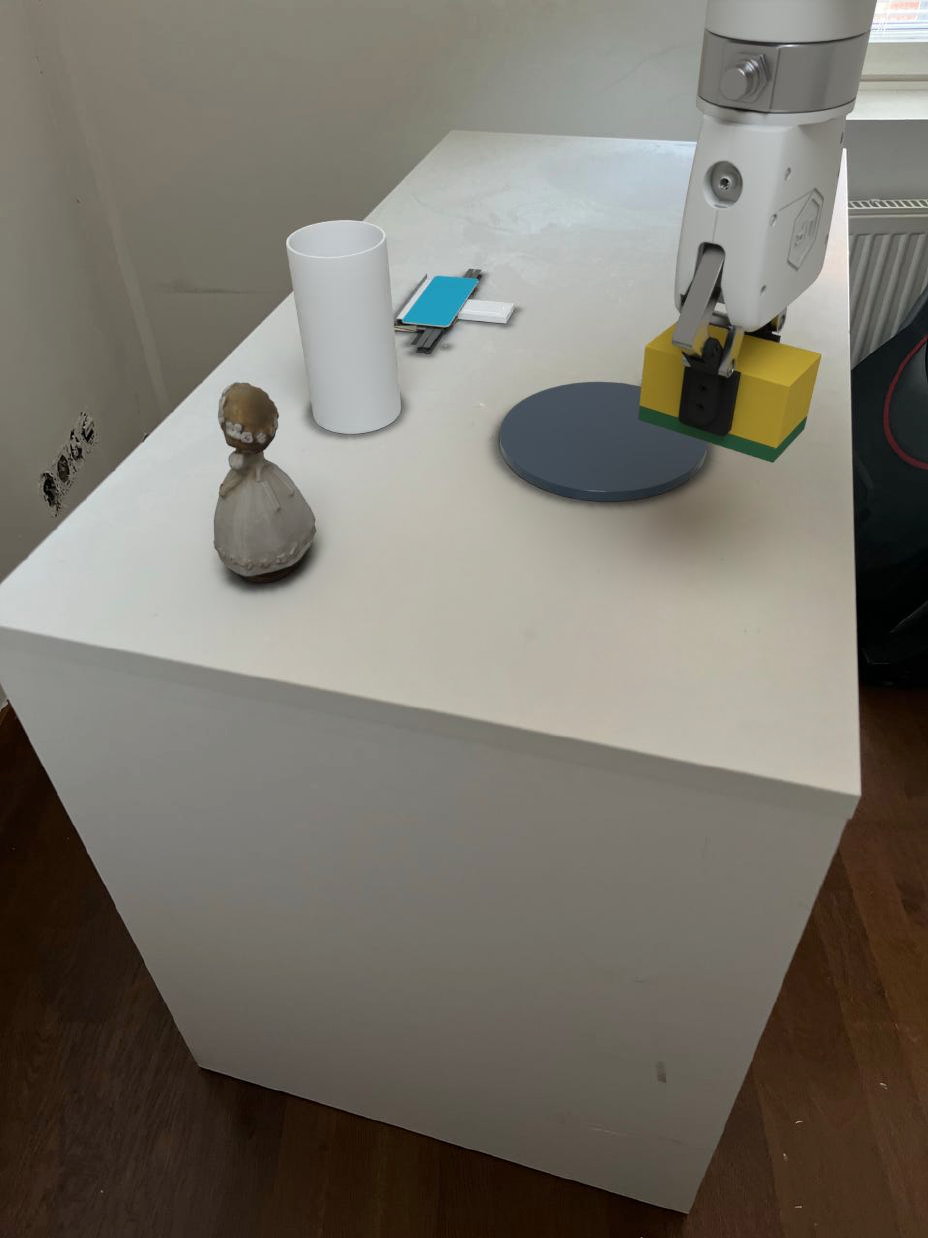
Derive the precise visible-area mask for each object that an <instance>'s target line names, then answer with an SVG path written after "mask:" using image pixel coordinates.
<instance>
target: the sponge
mask: <svg viewBox="0 0 928 1238" xmlns="http://www.w3.org/2000/svg"><path fill="white" fill-rule="evenodd" d="M677 322H678V320H677V321H676V322H674V323H673V324H672V325H670V326H669V327H668V328H666V329H665V330H664V331H663V332H661V333H660V334H659V335H658V336H656V337H655V338H654V339H652V340H651V341H649V342H648V343H647V344H646V345H645V347H644V352H643V353H644V354H643V364H642V375H641V384H640V386H641V395H640V407H639V417H638V419H639V420H641V421H644V422H647V423H650V424H653V425H656V426H660V427H663V428H666V429H669V430H672V431H675V432H678V433H681V434H684V435H687V436H691V437H694V438H697V439H700V440H703V441H706V442H708V444H713V445H714V446H715V445H716V446H718V447H722V448H725V449H728V450H731V451H734V452H738V453H740V454H744V455H747V456H750V457H753V458H756V459H760V460H762V461H765V462H769V463H771V464H773V463H775V462H776V461H777V460H778V458H779V457H780V456H781V455H782V454H783V453H784V452H785V451H786V450H787V448H789V446H790V445H791V444H792V443H793V442H794V441H795V440H796V439H797V438H798V437H799V436H800V435H801V434H802V433H803V432H804V430H805V428H806V424H807V420H808V415H809V411H810V407H811V404H812V398H813V394H814V391H815V390H814V389H815V386H816V381H817V377H818V373H819V368H820V364H821V359H822V353H819V352H816V351H815V352H814V351H812V350H808V349H803V348H800V347H796V346H792V345H788V344H785V343H781V342H780V343H777V342H773V341H768V340H764V339H760V338H757V337H753V336H749V335H745V334H744V336H743V339H742V343H741V347H740V351H739V355H738V359H737V363H736V366H735V369H734V370H735V371H739V372H741V375H740V381H739V387H738V393H737V399H736V405H735V410H734V416H733V422H732V428H731V430H730V432H729V433H728V434H727V435H725V436H719V435H715V434H712V433H709V432H706V431H703V430H700V429H697V428H693V427H690V426H687V425H684V424H682V423H681V422H680V421H679V419H678V414H679V407H680V399H681V391H682V383H683V375H684V367H685V366H683V364H682V358H683V354H682V352H681V350H679V349H678V348H677V347H675V346H674V345H673V344H672V335H673V332H674V329H675V327H676V324H677ZM727 332H728V330H727V329H723V328H719V327H715V326H711V325H708V333H709V334H710V336H711V337H712V338H716V339H718V340H719V342H720V344H721V345H722V347H723V348H724V344H725V340H726V336H727Z"/></svg>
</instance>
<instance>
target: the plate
mask: <svg viewBox="0 0 928 1238" xmlns="http://www.w3.org/2000/svg"><path fill="white" fill-rule="evenodd" d="M640 395H641V385H637V384H630V383H625V382H624V383H623V382H616V381H615V382H614V381H583V382H574V383H566V384H561V385H557V386H553V387H550V388H546V389H544V390H540V391H538V392H536V393H533V394H530V395H529V396H528V397H525V398H524V399H522V400H521V401H519V402H518V403H516V404H515V405H514V406H513V407H512V408H511V409H510V410H509V411H508V412H507V413H506V415H505V416H504V418H503V420H502V422H501V424H500V427H499V428H500V429H499V449H500V452H501V456H502V457H503V459H504V461H505V462H506V464H507V465H508V467H509V468H510V469H511V470H512V471H513V472H514V473H515V474H517V475H518V476H519V477H520V478H521V479H523V480H525V481H526V482H528V483H530V484H531V485H533V486H535V487H537V488H539V489H542V490H545V491H547V492H550V493H553V494H556V495H559V496H562V497H566V498H571V499H576V500H582V501H592V502H626V501H634V500H635V501H636V500H641V499H646V498H647V499H648V498H650V497H653V496H658V495H662V494H664V493H666V492H669V491H671V490H674V489H675V488H677V487H679V486H681V485H683V484H684V483H686V482H688V481H689V480H690V479H691V478H693V477H694V475H696V474H697V473H698V471H699V470H700V469H701V468H702V466H703V465H704V462H705V459H706V457H707V451H708V446H709V442H706V441H703V440H700V439H697V438H694V437H691V436H687V435H684V434H681V433H678V432H675V431H672V430H669V429H666V428H663V427H660V426H656V425H653V424H650V423H647V422H644V421H641V420H639V419H638V417H639V407H640Z"/></svg>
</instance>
